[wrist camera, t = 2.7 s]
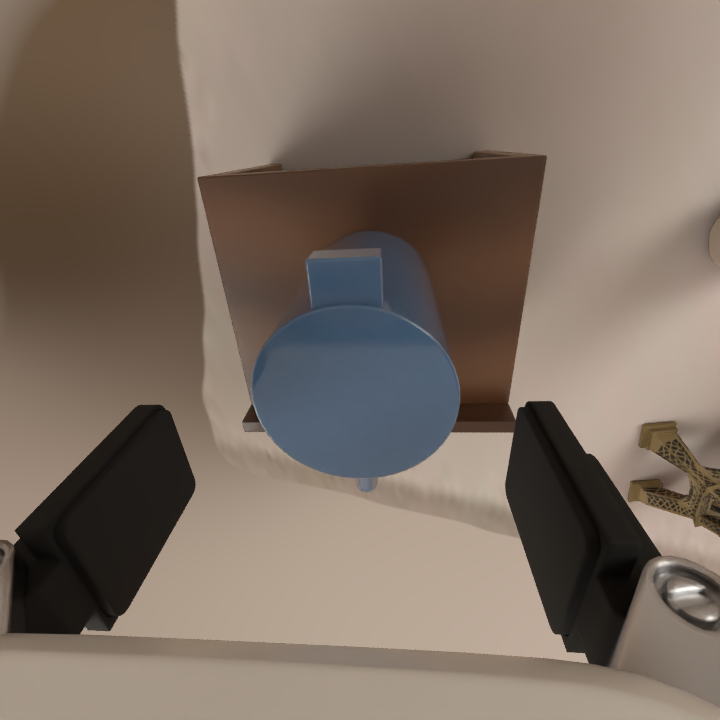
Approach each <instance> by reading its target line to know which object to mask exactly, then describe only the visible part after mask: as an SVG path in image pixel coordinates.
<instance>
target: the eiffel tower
mask: <svg viewBox="0 0 720 720" xmlns="http://www.w3.org/2000/svg"><path fill="white" fill-rule="evenodd" d="M677 430H678V429H677V428H676V423H675V422H674V421H673V422H662V423H651V424H643V427H642V432H641V437H640V441H639V447H640V448H644V447H645V448H646V449H647V450H650V449H651V450H652V451H653V452H655V453H656V454H658V455H659V456H661V457H662V458H664V459H666V460H667V461H669V462H670V463H672V464H673V465H675V466H677V467H678V468H680V469H681V470H683V471H685V472H686V473H688V476H689V483H690V491H689V495H683V494H679V493H676V492H673V491H670V490H667V489H664V488H662V487H663V483H662V482H661V481H660V480H646V481H631V485H630V490H629V495H628V501H629V502H632V501H641V502H643V503H645V504H646V505H649V506H652V507H656V508H659V509H662V510H665V511H668V512H671V513H674V514H678V515H681V516H684V517H688V518H691V519H693V522H694V526H695V527H698V526H703V527H705V528H707V529H708V530H710V531H712V532H714V533H715V534H717V535H718V536H719V537H720V469H714V468H707V467H702V466H700V464H699V463H698V462H697V460H696V459H695V458H694V456H693V455H692V453H691V452H690V451H689V449H688V448H687V446H686V445H685V444H684V442H683V441H682V439H681V438H680V437H679V435H678V434H677ZM713 500H714V501H713Z"/></svg>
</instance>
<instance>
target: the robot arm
mask: <svg viewBox="0 0 720 720" xmlns="http://www.w3.org/2000/svg"><path fill="white" fill-rule="evenodd" d="M505 489H506V496H507V499H508V502H509V505H510V508H511V511H512V514H513V517H514V520H515V523H516V526H517V529H518V532H519V535H520V538H521V541H522V544H523V547H524V550H525V553H526V556H527V559H528V562H529V565H530V568H531V571H532V574H533V577H534V580H535V583H536V586H537V589H538V592H539V595H540V598H541V601H542V604H543V607H544V609H545V613H546V616H547V619H548V622H549V625H550V627H551V629H552V631H553V633H554V634H561V636H562V639H563V642H564V645H565V648H566V650H567V652H576V653H585V654H586V657H587V659H588V662H589V664H587V663H579V662H571V661H563V660H555V659H546V658H533V657H518V656H504V655H490V654H476V653H461V652H442V651H424V650H405V649H386V648H385V649H384V648H367V647H348V646H347V647H346V646H328V645H306V644H285V643H265V642H243V641H222V640H221V641H220V640H200V639H177V638H152V637H128V636H126V637H125V636H104V635H80V633H81V631H82V630H83V628H84V627H86V628H87V629H88V630H96V631H110V630H111V628H112V627H113V625H114V623H115V622H116V620H117V618H118V616H121V615H122V614H124V613H125V612H126V610H127V609H128V608H129V606H130V604H131V602H132V601H133V599H134V597H135V595H136V593H137V592H138V590H139V588H140V586H141V585H142V583H143V581H144V579H145V578H146V576H147V574H148V572H149V571H150V569H151V567H152V565H153V564H154V562H155V560H156V558H157V557H158V555H159V553H160V551H161V549H162V548H163V546H164V544H165V542H166V540H167V539H168V537H169V535H170V534H171V532H172V530H173V528H174V527H175V525H176V523H177V521H178V519H179V518H180V516H181V514H182V513H183V511H184V509H185V507H186V506H187V504H188V502H189V500H190V499H191V497H192V495H193V493H194V490H195V479H194V476H193V473H192V470H191V468H190V465H189V462H188V459H187V457H186V454H185V451H184V448H183V446H182V443H181V440H180V437H179V435H178V432H177V429H176V426H175V424H174V421H173V418H172V415H171V413H170V412H169V411H168V410H165V408H164V407H163V406H162V405H139V406H137V407H135V408H134V409H133V410H132V411H131V412H130V414H128V416H127V417H125V418H124V419H123V421H122V422H121V423H120V424H119V425H118V426H117V427H116V428H115V429H114V430H113V431H112V432H111V433H110V434H109V435H108V436H107V437H106V438H105V439H104V440H103V441H102V442H101V443H100V444H99V445H98V446H97V447H96V448H95V449H94V450H93V451H92V452H91V453H90V454H89V455H88V456H87V457H86V458H85V459H84V460H83V461H82V462H81V463H80V464H79V465H78V466H77V467H76V468H75V470H73V471H72V473H71V474H70V475H69V476H68V477H67V478H66V479H65V480H64V481H63V482H62V483H61V484H60V485H59V486H58V487H57V488H56V489H55V490H54V491H53V492H52V493H51V494H50V495H49V496H48V497H47V498H46V499H45V500H44V501H43V502H42V503H41V504H40V506H38V507H37V508H36V509H35V510H34V511H33V512H32V513H31V514H30V515H29V516H28V517H27V518H26V520H25V521H23V523H22V524H21V525H20V526H19V527H18V528H17V529H16V530H15V532H16V533H17V534H18V536H19V537H20V539H19V540H18V541H17V542H16V543H15V544H14V545H13V544H11V543H10V542H9V541H7V540H0V720H720V576H718V575H717V574H715V573H714V572H712V571H710V570H709V569H707V568H705V567H704V566H702V565H700V564H697V563H695V562H692V561H690V560H687V559H684V558H679V557H674V556H661V554H660V553H659V551H658V550H657V548H656V547H655V545H654V544H653V542H652V541H651V539H650V538H649V536H648V535H647V533H646V532H645V530H644V529H643V527H642V526H641V524H640V523H639V521H638V520H637V518H636V517H635V515H634V514H633V512H632V511H631V509H630V508H629V506H628V505H627V503H626V502H625V500H624V499H623V497H622V496H621V494H620V493H619V491H618V490H617V488H616V487H615V485H614V484H613V482H612V481H611V479H610V478H609V476H608V475H607V473H606V472H605V470H604V469H603V467H602V466H601V464H600V463H599V461H598V460H597V459H596V458H595V456H593V455H591V454H586V453H585V451H584V450H583V448H582V446H581V445H580V443H579V442H578V440H577V439H576V437H575V436H574V434H573V432H572V431H571V429H570V428H569V426H568V425H567V423H566V421H565V420H564V418H563V417H562V415H561V414H560V412H559V411H558V409H557V407H556V406H555V404H554V403H553V402H551V401H528V402H527V403H526V405H525V407H520V408H519V409H518V412H517V418H516V423H515V429H514V435H513V441H512V447H511V453H510V459H509V465H508V471H507V477H506V483H505Z"/></svg>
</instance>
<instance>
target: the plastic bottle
mask: <svg viewBox="0 0 720 720" xmlns="http://www.w3.org/2000/svg"><path fill="white" fill-rule="evenodd" d="M709 254H710V256H711V259H712V261H713V262H714V263H715V264H716V265H717V266H718V267H720V216H719V218H718V219H717V220H716V222H715V224H714V226H713V227H712V230H711V233H710V236H709Z"/></svg>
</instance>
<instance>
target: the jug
mask: <svg viewBox="0 0 720 720" xmlns="http://www.w3.org/2000/svg"><path fill="white" fill-rule="evenodd" d="M305 266H306V274H307V278H306V280H305V281H304V283H303V284H302V286H301V287H300V289H299V291H298V292H297V294H296V295H295V297H294V298H293V300H292V301H291V303H290V305H289V306H288V308H287V309H286V311H285V312H284V314H283V315H282V317H281V319H280V320H279V322H278V323H277V325H276V326H275V328H274V329H273V331H272V333H271V334H270V336H269V337H268V339H267V340H266V342H265V343H264V345H263V347H262V348H261V350H260V352H259V354H258V356H257V358H256V361H255V364H254V367H253V370H252V377H251V395H252V401H253V406H254V409H255V412H256V415H257V417H258V419H259V421H260V423H261V425H262V427H263V428H264V430H265V432H266V433H267V435H268V436H269V437H270V438H271V439H272V440H273V442H274V443H275V444H276V445H277V446H278V447H279V448H281V449H282V450H283V451H284V452H285V453H287V454H288V455H289V456H290V457H292V458H293V459H295V460H297V461H298V462H300V463H302V464H304V465H306V466H308V467H310V468H312V469H314V470H317V471H320V472H323V473H326V474H330V475H334V476H339V477H345V478H356V485H357V487H358V489H359V490H361V491H362V492H366V493H367V492H371V491H373V490H374V489H375V488H376V486H377V479H378V477H384V476H389V475H393V474H397V473H399V472H402V471H405V470H408V469H410V468H412V467H414V466H416V465H418V464H419V463H421V462H423V461H424V460H426V459H427V458H428V457H430V456H431V455H432V454H433V453H435V452H436V451H437V450H438V448H439V447H440V446H441V445H442V444H443V443H444V442H445V440H446V439H447V437H448V436H449V434H450V433H451V431H452V429H453V427H454V425H455V422H456V419H457V416H458V413H459V407H460V386H459V380H458V376H457V372H456V368H455V365H454V361H453V357H452V354H451V350H450V346H449V343H448V339H447V336H446V332H445V328H444V325H443V321H442V317H441V314H440V310H439V307H438V303H437V299H436V296H435V292H434V288H433V285H432V281H431V277H430V274H429V271H428V268H427V266H426V264H425V262H424V260H423V259H422V257H421V256H420V254H419V253H418V252H417V251H416V250H415V249H414V248H413V247H412V246H411V245H410V244H408V243H407V242H405V241H404V240H402V239H401V238H399V237H396V236H394V235H392V234H388V233H385V232H379V231H362V232H356V233H352V234H349V235H347V236H344V237H342V238H341V239H339V240H337V241H335V242H334V243H333V244H332V245H330V246H329V247H328V248H327V249H326V250H320V251H312V252H311V253H310V255H309V256H308V257H307V259H306V260H305Z"/></svg>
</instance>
